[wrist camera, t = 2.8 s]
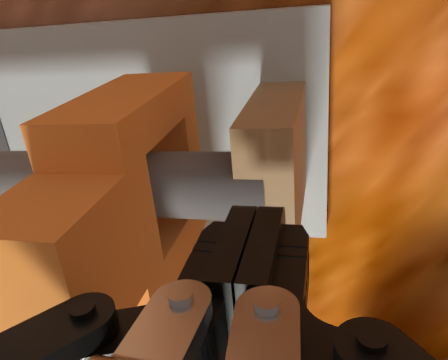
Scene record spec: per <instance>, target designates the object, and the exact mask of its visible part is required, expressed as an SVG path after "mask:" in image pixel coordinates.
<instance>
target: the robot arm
mask: <svg viewBox="0 0 448 360" xmlns="http://www.w3.org/2000/svg"><path fill="white" fill-rule="evenodd" d="M308 286H309V235H308V233H307V232H306V230H305V229H304V227H303V225H294V224H286V219H285V207H273V206H259V207H258V206H239V205H232V207H231V209H230V211H229V213H228V216H227V218H226V220H225V222H221V221H214V222H212V223H211V224H210V225H208V226H207V227H206V228H205V229H203V230H202V232H201V234H200V236H199V238H198V240H197V243H196V244H195V245H194V247H193V249H192V252H191V253H190V255H189V257H188V259H187V261H186V263H185V265H184V267H183V269H182V271H181V273H180V275H179V277H178V279H177V280H176V281H172V282H170V283H167V284H165V285H163V286H162V287H160V288H159V289H158V290H157V291H156V292H155V293H154V294H153V295H152V297H151V298H150V300H149V301H148V303H147V304H146V305H143V306H137V307H130V308H124V309H117V310H116V307H115V303H114V300H113V299H112V298H111V297H110V296H109V295H107V294H104V293H100V292H90V293H84V294H80V295H77V296H75V297H72V298H70V299H68V300H66V301H64V302H62V303H60V304H58V305H56V306H54V307H52V308H50V309H48V310H46V311H44V312H41V313H39V314H37V315H35V316H33V317H31V318H29V319H27V320H25V321H23V322H21V323H19V324H17V325H15V326H13V327H11V328H9V329H7V330H5V331H2V332H0V360H436V359H435V358H433V357H432V356H431V355H430V354H429V353H427V352H426V351H425V350H424V349H422V348H421V347H420V346H419V345H418V344H416V343H415V342H414V341H413V340H412V339H410V338H409V337H408V336H407V335H406V334H404V333H403V332H402V331H401V330H400V329H398V328H397V327H395V326H394V325H392V324H390V323H388V322H386V321H383V320H380V319H377V318H371V317H358V318H353V319H350V320H347V321H345V322H344V323H342V324H341V325H340V326H339V327H336V326H333V325H331V324H328V323H326V322H323V321H321V320H320V319H318V318H316V317H315V316H314V315H313V314H312V313H311V312H309V310H308V309H307V299H308Z"/></svg>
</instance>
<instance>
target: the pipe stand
mask: <svg viewBox="0 0 448 360" xmlns="http://www.w3.org/2000/svg"><path fill="white" fill-rule="evenodd" d="M330 6H331V4H321V5H308V6H295V7H282V8H269V9H255V10H242V11H229V12H216V13H203V14H190V15H177V16H164V17H151V18H138V19H124V20H111V21H98V22H85V23H72V24H59V25H46V26H33V27H20V28H7V29H0V195H1V194H3V193H4V192H6V191H7V190H9V189H10V188H12V187H13V186H15V185H16V184H18V183H19V182H21V181H22V180H24V179H25V178H27V177H28V176H30V175H31V174H33V170H32V167H31V163H30V160H29V156H28V153H27V150H26V146H25V143H24V139H23V136H22V133H21V129H20V126H19V125H20V124H22V123H24V122H26V121H29V120H31V119H33V118H35V117H37V116H39V115H41V114H43V113H45V112H47V111H49V110H51V109H53V108H55V107H58V106H60V105H62V104H64V103H66V102H68V101H70V100H72V99H74V98H76V97H78V96H80V95H82V94H84V93H86V92H89V91H91V90H93V89H95V88H97V87H99V86H101V85H103V84H105V83H107V82H109V81H111V80H113V79H115V78H118V77H120V76H122V75H124V74H139V73H162V72H185V71H191V73H192V82H193V90H194V99H195V108H196V117H197V125H198V134H199V143H200V151H149V152H148V153H147V154H146V160H147V165H148V171H149V177H150V183H151V189H152V194H153V200H154V206H155V212H156V218H175V219H198V220H207V222H206V224H205V226H204V228H203V229H205V228H206V227H207V226H208V225H210V224H211V223H212V222H214V221H221V222H225V220H226V218H227V216H228V213H229V211H230V209H231V207H232V205H239V206H258V207H259V206H273V207H285V219H286V224H294V225H303V227H304V229H305V230H306V232H307V233H308V235H309V237H319V238H326V231H327V176H328V120H329V63H330Z"/></svg>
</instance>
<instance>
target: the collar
mask: <svg viewBox="0 0 448 360" xmlns="http://www.w3.org/2000/svg"><path fill="white" fill-rule="evenodd" d="M19 126H20V129H21V133H22V136H23V139H24V143H25V146H26V150H27V153H28V156H29V160H30V163H31V167H32V170H33V174H31V175H30V176H28V177H27V178H25V179H24V180H22V181H21V182H19V183H18V184H16V185H15V186H13V187H12V188H10V189H9V190H7V191H6V192H4V193H3V194H1V195H0V332H2V331H5V330H7V329H9V328H11V327H13V326H15V325H17V324H19V323H21V322H23V321H25V320H27V319H29V318H31V317H33V316H35V315H37V314H39V313H41V312H44V311H46V310H48V309H50V308H52V307H54V306H56V305H58V304H60V303H62V302H64V301H66V300H68V299H70V298H72V297H75V296H77V295H80V294H84V293H90V292H100V293H104V294H107V295H109V296H110V297H111V298H112V299H113V300H114V303H115V307H116V310H117V309H124V308H130V307H137V306H143V305H146V304H147V303H148V301H149V300H150V298H151V297H152V295H153V294H154V293H155V292H156V291H157V290H158V289H159V288H160V287H162V286H163V285H165V284H167V283H170V282H172V281H176V280H177V279H178V277H179V275H180V273H181V271H182V269H183V267H184V265H185V263H186V261H187V259H188V257H189V255H190V253H191V252H192V249H193V247H194V245H195V244H196V242H197V240H198V238H199V236H200V234H201V232H202V230H203V228H204V226H205V224H206V222H207V220H198V219H175V218H156V212H155V206H154V200H153V194H152V189H151V183H150V177H149V171H148V165H147V160H146V154H147V153H148V152H149V151H200V143H199V134H198V125H197V117H196V108H195V99H194V90H193V82H192V73H191V71H185V72H162V73H139V74H124V75H122V76H120V77H118V78H115V79H113V80H111V81H109V82H107V83H105V84H103V85H101V86H99V87H97V88H95V89H93V90H91V91H89V92H86V93H84V94H82V95H80V96H78V97H76V98H74V99H72V100H70V101H68V102H66V103H64V104H62V105H60V106H58V107H55V108H53V109H51V110H49V111H47V112H45V113H43V114H41V115H39V116H37V117H35V118H33V119H31V120H29V121H26V122H24V123H22V124H20V125H19Z"/></svg>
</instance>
